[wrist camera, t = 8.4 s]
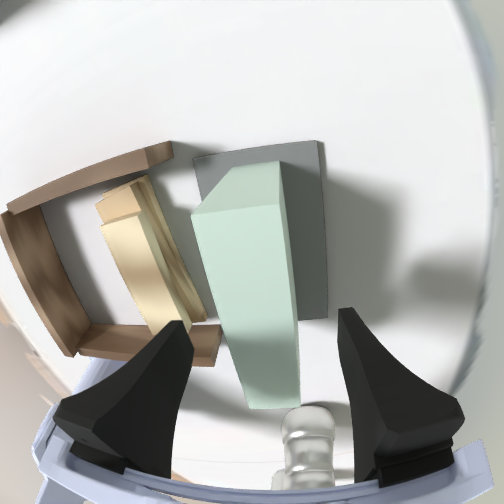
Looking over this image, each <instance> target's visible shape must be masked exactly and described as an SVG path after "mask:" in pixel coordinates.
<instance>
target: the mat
mask: <svg viewBox="0 0 504 504" xmlns="http://www.w3.org/2000/svg"><path fill="white" fill-rule="evenodd" d="M272 161H279V163H280V169H281V176H282V183H283V191H284V198H285V206H286V213H287V221H288V230H289V238H290V246H291V255H292V264H293V274H294V284H295V294H296V304H297V317H298V321H301V320H312V319H321V318H328V305H327V262H326V240H325V223H324V209H323V197H322V185H321V175H320V165H319V156H318V148H317V141H316V140H313V141H302V142H293V143H284V144H276V145H268V146H261V147H254V148H247V149H241V150H235V151H229V152H223V153H218V154H213V155H208V156H202V157H198V158H194V159H193V164H194V168H195V173H196V177H197V182H198V186H199V191H200V195H201V199H202V201H203V200H204V199H205V198H206V197H207V195H208V194H209V193H210V192H211V191H212V190H213V189H214V187H215V186H216V185H217V184H218V183H219V182H220V181H221V179H222V178H223V177H224V176H225V175H226V174H227V173H228V172H229V171H230V169H231V168H232V167H237V166H244V165H250V164H257V163H265V162H272Z"/></svg>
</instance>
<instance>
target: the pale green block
mask: <svg viewBox="0 0 504 504" xmlns="http://www.w3.org/2000/svg"><path fill="white" fill-rule="evenodd" d="M191 220H192V224H193V228H194V232H195V236H196V239H197V243H198V247H199V250H200V254H201V258H202V261H203V265H204V268H205V272H206V275H207V279H208V282H209V286H210V289H211V292H212V296H213V299H214V302H215V306H216V309H217V312H218V316H219V319H220V322H221V325H222V328H223V331H224V335H225V338H226V341H227V344H228V347H229V350H230V353H231V356H232V359H233V362H234V365H235V368H236V371H237V374H238V377H239V380H240V382H241V385H242V388H243V391H244V394H245V397H246V399H247V402H248V405H249V408H250V409H276V408H296V407H301V401H300V363H299V338H298V317H297V304H296V294H295V284H294V274H293V264H292V255H291V246H290V238H289V230H288V221H287V213H286V206H285V198H284V191H283V183H282V176H281V169H280V163H279V161H272V162H265V163H257V164H250V165H244V166H237V167H232V168H231V169H230V171H229V172H228V173H227V174H226V175H225V176H224V177H223V178H222V179H221V181H220V182H219V183H218V184H217V185H216V186H215V187H214V189H213V190H212V191H211V192H210V193H209V194H208V195H207V197H206V198H205V199H204V200H203V201H202V203H201V204H200V205H199V206H198V207H197V208H196V210H195V211H194V212H193V213H192V214H191Z"/></svg>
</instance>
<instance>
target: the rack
mask: <svg viewBox="0 0 504 504" xmlns="http://www.w3.org/2000/svg"><path fill="white" fill-rule="evenodd" d="M173 157H174V156H173V151H172V147H171V142H170V141H167V142H163V143H159V144H156V145H152V146H148V147H145V148H142V149H138V150H135V151H132V152H129V153H126V154H123V155H119V156H116V157H114V158H111V159H108V160H105V161H102V162H99V163H97V164H94V165H91V166H89V167H86V168H83V169H81V170H78V171H76V172H73V173H71V174H68V175H66V176H64V177H61V178H59V179H57V180H54V181H52V182H50V183H48V184H45V185H43V186H41V187H39V188H37V189H35V190H33V191H31V192H29V193H27V194H25V195H23V196H21V197H19V198H17V199H15V200H13V201H11V202H9V203H8V204H6V205H7V208H8V210H7V211H6V212H4V213H2V214H1V215H0V236H1V238H2V241H3V243H4V246H5V248H6V251H7V253H8V256H9V258H10V260H11V263H12V265H13V267H14V269H15V271H16V273H17V276H18V278H19V280H20V282H21V284H22V286H23V288H24V290H25V292H26V294H27V295H28V297H29V299H30V301H31V303H32V305H33V306H34V308H35V310H36V312H37V313H38V315H39V317H40V318H41V320H42V322H43V323H44V325H45V327H46V328H47V330H48V331H49V333H50V335H51V336H52V338H53V339H54V341H55V342H56V344H57V345H58V347H59V348H60V349H61V351H62V352H63V354H64V355H65V356H68V357H73V358H74V356H75V355H76V353H77V352H79V354H80V355H83V356H89V357H95V358H102V359H109V360H117V361H126V362H128V361H129V360H130V359H132V358H133V357H134V356H135V355H136V354H137V353H138V352H139V351H140V350H141V349H143V348H144V347H145V346H146V345H147V344H148V343H149V342H150V341H151V340H152V339H153V338H154V337H155V336H156V335H153V334H152V332H151V331H150V329H149V327H148V326H145V325H110V324H92V323H91V321H90V320H89V318H88V316H87V314H86V312H85V311H84V309H83V307H82V305H81V303H80V301H79V299H78V297H77V295H76V293H75V291H74V289H73V287H72V285H71V283H70V281H69V279H68V277H67V275H66V273H65V270H64V268H63V266H62V264H61V261H60V259H59V257H58V254H57V252H56V250H55V247H54V245H53V242H52V240H51V237H50V234H49V232H48V229H47V226H46V223H45V221H44V218H43V215H42V212H41V209H40V206H39V204H41V203H44V202H46V201H49V200H51V199H54V198H57V197H59V196H62V195H65V194H67V193H70V192H73V191H76V190H79V189H82V188H84V187H87V186H90V185H93V184H97V183H100V182H103V181H106V180H109V179H113V178H116V177H119V176H123V175H126V174H130V173H133V172H137V171H141V170H144V169H148V168H151V167H153V166H155V165H157V164H159V163H161V162H164V161H166V160H168V159H170V158H173ZM188 335H189V337H190V340H191V342H192V344H193V347H194V349H195V350H194V357H193V362H192V366H199V367H214V366H215V362H216V358H217V354H218V350H219V346H220V342H221V338H222V331H221V328H220V325H192V326H191V328H190V331H189V333H188Z"/></svg>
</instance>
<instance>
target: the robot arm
mask: <svg viewBox="0 0 504 504" xmlns="http://www.w3.org/2000/svg"><path fill="white" fill-rule="evenodd" d="M337 343H338V350H339V358H340V363H341V367H342V371H343V375H344V380H345V384H346V388H347V392H348V396H349V401H350V407H351V416H352V426H353V440H354V484H349V485H342V486H335V487H326V488H315V489H301V490H247V489H233V488H222V487H213V486H206V485H199V484H193V483H187V482H181V481H176V480H171V459H172V447H173V438H174V431H175V425H176V419H177V414H178V409H179V405H180V402H181V399H182V396H183V393H184V390H185V387H186V384H187V380H188V377H189V374H190V371H191V368H192V362H193V357H194V350H195V349H194V347H193V344H192V342H191V340H190V337H189V335H188V333H187V330H186V328H185V325H184V323H183V320H171V321H170V322H169V323H168V324H167V325H165V326H164V327H163V328H162V329H161V330H160V332H159V333H158V334H157V335H156V336H155V337H154V338H153V339H152V340H151V341H150V342H149V343H148V344H147V345H146V346H145V347H144V348H143V349H141V350H140V351H139V352H138V353H137V354H136V355H135V356H134V357H133V358H132V359H130V360H129V361H128V362H126V361H117V360H109V359H102V358H95V357H89V356H88V357H89V358H90V360H91V362H90V364H89V365H88V367H87V369H86V370H85V372H84V374H83V375H82V377H81V379H80V381H79V382H78V384H77V386H76V388H75V389H74V391H73V393H72V395H71V396H69V397H67V398H64V399H62V400H61V402H59V403H54V404H53V405H52V407H51V408H50V410H49V411H48V413H47V415H46V417H45V418H44V420H43V422H42V424H41V426H40V428H39V430H38V432H37V434H36V436H35V440H34V442H33V445H32V447H31V449H32V456H33V458H34V460H35V462H36V464H37V466H38V471H40V472H41V473H42V474H43V476H44V478H45V479H44V482H43V484H42V486H41V489H40V491H39V494H38V496H37V498H36V501H35V504H83V502H84V501H85V500H90V501H92V502H94V503H96V504H185V503H181V502H179V501H177V500H175V499H173V498H171V497H170V496H168V495H165V494H170V495H174V496H178V497H183V498H188V499H194V500H199V501H206V502H213V503H221V504H463V503H465V502H467V501H469V500H471V499H473V498H475V497H477V496H479V495H481V494H482V493H484V492H486V491H488V490H490V489H491V488H493V487H494V483H493V478H492V474H491V470H490V466H489V463H488V459H487V455H486V451H485V448H484V445H483V442H482V439H479V440H477V441H475V442H473V443H471V444H468V445H466V446H464V447H462V448H460V449H458V450H456V451H454V452H453V453H452V449H451V447H452V446H453V440H452V436H453V435H454V434H455V433H456V432H457V431H458V430H459V428H460V427H461V426H462V424H463V423H464V420H465V417H464V414H463V411H462V409H461V406H460V405H459V403H458V401H457V399H456V398H454V397H452V396H450V395H448V394H446V393H444V392H442V391H440V390H438V389H436V388H435V387H433V386H431V385H430V384H428V383H426V382H425V381H424V380H422V379H421V378H419V377H418V376H416V375H415V374H414V373H412V372H411V371H410V370H408V369H407V368H406V367H405V366H404V365H402V364H401V363H400V362H399V361H398V360H397V359H396V358H395V357H394V356H393V355H392V354H391V353H390V352H389V351H388V350H387V349H386V348H385V347H384V346H383V345H382V344H381V343H380V342H379V341H378V340H377V338H376V337H375V336H374V335H373V334H372V332H371V331H370V330H369V329H368V327H367V326H366V325H365V324H364V322H363V321H362V320H361V318H360V317H359V315H358V314H357V313H356V311H355V310H354V308H352V307H350V308H342V309H339V312H338V337H337ZM152 490H153V491H152ZM155 491H157V492H155ZM158 492H161V493H165V494H161V493H158Z"/></svg>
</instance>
